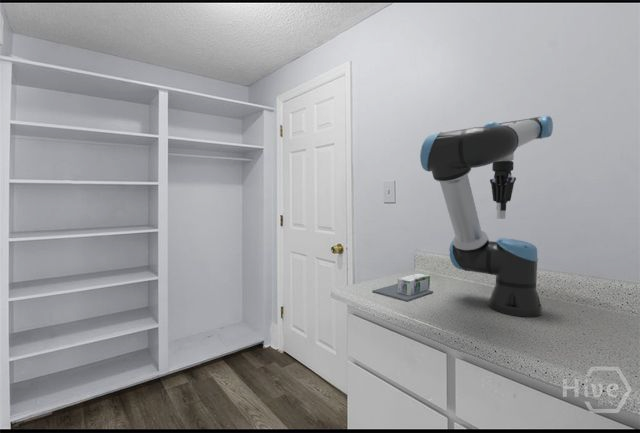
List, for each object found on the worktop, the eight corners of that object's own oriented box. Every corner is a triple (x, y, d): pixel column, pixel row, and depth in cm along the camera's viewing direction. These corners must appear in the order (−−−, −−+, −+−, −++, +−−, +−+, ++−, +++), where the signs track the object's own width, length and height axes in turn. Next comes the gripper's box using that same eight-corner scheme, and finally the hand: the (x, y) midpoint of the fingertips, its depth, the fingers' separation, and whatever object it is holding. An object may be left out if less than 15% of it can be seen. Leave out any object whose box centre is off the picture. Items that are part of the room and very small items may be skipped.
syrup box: (430, 289, 130) (410, 296, 120) (417, 286, 134) (396, 292, 125) (430, 275, 130) (410, 281, 120) (417, 273, 134) (397, 278, 125)
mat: (399, 284, 140) (399, 283, 139) (433, 292, 128) (433, 291, 127) (372, 292, 128) (372, 290, 128) (407, 301, 116) (407, 300, 116)
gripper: (523, 159, 126) (520, 219, 127) (500, 163, 139) (499, 217, 140) (505, 159, 125) (503, 219, 126) (484, 163, 138) (482, 217, 139)
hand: (501, 218), depth 133 cm, fingers closed
